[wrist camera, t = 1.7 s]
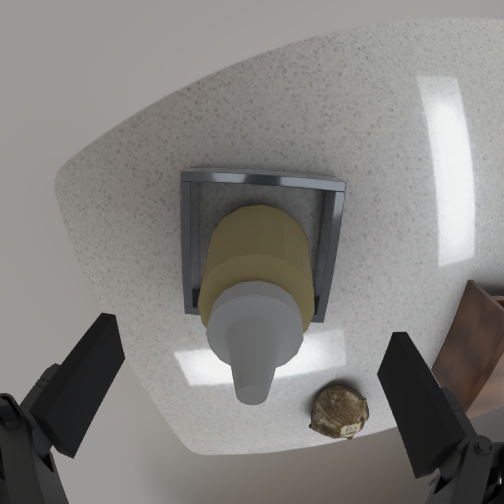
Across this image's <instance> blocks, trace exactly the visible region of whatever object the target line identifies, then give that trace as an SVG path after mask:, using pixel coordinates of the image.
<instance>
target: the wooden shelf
mask: <svg viewBox="0 0 504 504" xmlns="http://www.w3.org/2000/svg"><path fill="white" fill-rule="evenodd" d="M431 371H432V373H433V374H434V376H435V378H436V380H437V381H438V383H439V385H440V387H447V388H448V389H449V390H451V391H452V392H453V393H454V394H455V396H456V398H457V399H458V401H459V404H460V405H461V406H462V408H463V411H464V412H465V414H466V415H467V417H468V419H469V418H472V417H475V416H478V415H481V414H484V413H487V412H489V411H492V410H495V409H497V408H500V407H503V406H504V296H490V295H489V294H488V293H487V292H486V291H484V290H483V289H482V288H481V287H480V286H479V285H477V284H476V283H475V282H474V281H473V280H468V283H467V286H466V289H465V292H464V295H463V297H462V300H461V303H460V306H459V308H458V311H457V314H456V316H455V319H454V321H453V324H452V326H451V328H450V331H449V333H448V335H447V338H446V340H445V342H444V344H443V347H442V349H441V351H440V353H439V355H438V357H437V359H436V361H435V363H434V365H433V367H432V369H431Z"/></svg>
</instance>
